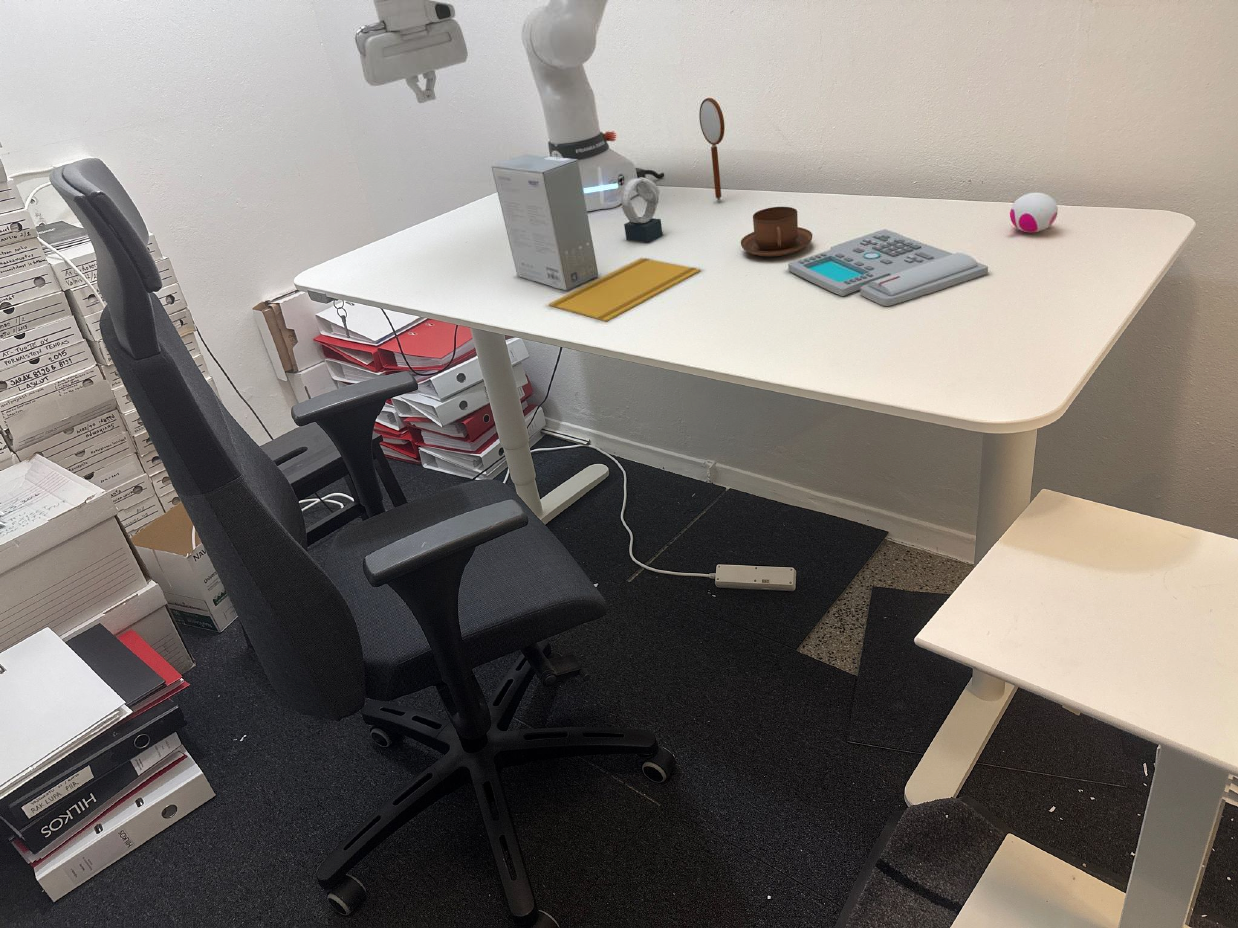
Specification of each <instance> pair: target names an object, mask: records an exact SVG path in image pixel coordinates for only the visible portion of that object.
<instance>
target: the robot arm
mask: <svg viewBox="0 0 1238 928" xmlns="http://www.w3.org/2000/svg"><path fill="white" fill-rule="evenodd" d="M372 1H373V4H374V8H375V11H376V15H377V19H378V22H374V23H371V24H365V25H361V26H360V27H359V29H358V30H357V31H356V33H355V36H354V42H355V45H356V48H357V51H358V53H359V57H360V64H361V69H362V73H363V77H364V80H365V82H366V83H367V84H368V85H370V86H371V87H377V86H378V87H379V86H383V85H388V84H391V83H394V82H399V81H403V80H405V82H406V85H407V86H408V87H409V88H410V89H411V90H412V92H413V93H414V94H415V97H416V100H417V103H418V104H424V103H427V102H431V101H434V100H436V98H437V96H436V93H435V85H436V81H437V75H436V71H438V70H442V69H445V68H449V67H453V66H456V65H460V64H463V63H466V62H467V61H468V60H467V59H468V55H469V52H468V47H467V43H466V40H465V37H464V34H463V31H462V28H461V26H460V24H459V22H458V21H456V19H454V18H455V17H456V10H455V7H454V5H452V4H451V3H447V2H440V1H435V0H372ZM608 1H609V0H549V2H548V4H547V5H541V6H538V7H536V8H534V9H533V10H532V11H531V12H530V13H529V14H527V16H526V17H525V19H524V21H523V23H522V26H521V32H520V33H521V34H520V35H521V40H522V41H521V42H522V44H523V47H524V50H525V52H526V56H527V60H528V63H529V67H530V70H531V73H532V76H533V80H534V83H535V86H536V88H537V92H538V95H539V98H540V101H541V106H542V109H543V110H542V111H543V115H544V120H545V121H544V122H545V126H546V131H547V136H548V142H547V147H548V152H549V157H558V158H569V159H577V160H578V165H579V170H580V176H581V182H582V187H583V193H584V198H585V204H586V209H587V212H592V211H596V210H597V211H598V210H604V209H606V210H607V209H612V208H617V207H618V206H619V205H622V202H621V197H622V191H623V188H624V186H625V185H626V183H627V182H628V181H629V180H631V179H638V178H646V175H651V176H653V177H654V178H655V179H662V178H664V177H665V173H664V172H661V173H657V172H656V171H655V170H652V169H643V168H640V167H636V166H635V164H634V163H633V161H632V160H631V159H629V158H627V157H626V156H624V155H622V154H620V153H619V152H617V151H615V150H614V149H612V148H610V145H609V143H608V142H615V141H616V139H617V133H616V132H615V131H612V130H611V131H610V130H608V131H605V132H603V131H601V129H600V128H601V127H600V122H599V116H598V110H597V104H596V97H595V93H594V90H593V89H592V87H591V84H590V81H589V78H588V76H587V73H586V70H585V67H584V65H585V63H586V62H588V61H589V60H590V59H591V57H592V56H593V54H594V53H595V49H596V46H597V35H598V32H599V30H600V27H601V23H602V20H603V17H604V13H605V9H606V7H607V5H608ZM419 75H422V79H423V80H426V81H425V89H422V88H421V86H419V84H418V83H420V80H419ZM646 179H647V178H646ZM636 196H638V194H637V192H636V191H634V189H633V191H632V194H631V199H632V198H634V197H636Z"/></svg>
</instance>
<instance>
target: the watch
mask: <svg viewBox="0 0 1238 928" xmlns="http://www.w3.org/2000/svg"><path fill="white" fill-rule="evenodd" d="M633 189H634V191H636V192H637V196H639V197H641V198H642V200H643V202H644V203H646V207H645V210H644V213H643V214H642V216H638V214H637V212H636V210H635V208H634V206H633V205H632V202H631V201H632V200H631V199H632V198H631V194H632V191H633ZM659 195H660V189H659V187H658V185H657V184H656V183H655V182H653V180H650V179H649V178H638V179H631V180H629V181H628V182H627V183H626V185H625V186H624V188H623V191H622V197H621V202H622V203H621V209H622V211H623V214H624V215H625V217H626V218H627V220H628V222H625V223H624V224H623V226H624V234H625V239H626V241H628V242H629V241H630V242H635V243H636V242H637V243H645V244H650V243H651V242H653V241H655V240H657V239H659V238H661V237H662V236H663V235H664V233H663V226H662V219H661V218H654V216H655V213H656V212H657V208H658V204H659V201H660V200H659Z"/></svg>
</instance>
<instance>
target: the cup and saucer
mask: <svg viewBox="0 0 1238 928" xmlns="http://www.w3.org/2000/svg"><path fill="white" fill-rule="evenodd" d="M752 224H753V231H752V232H750V233H747V234H746V235H745V236H743V238H741V240H740V247H741V248H742V249H743V250H744V251H745V252H747V253H748V254H751V255H754V256H759V257H780V256H785V255H790V254H793V253H797V252H799V251H801V250H803V249H804V248H807V246H808V245H809V244H810V243H811V242H812V241H813V232H811V230H809V229H807V228H804V227H799V223H798V210H797V209H796V208H793V207H790V206H772V207H767V208H763V209H760V210H758V211H756V212H755V213H753V215H752Z"/></svg>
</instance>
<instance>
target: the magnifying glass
mask: <svg viewBox="0 0 1238 928" xmlns="http://www.w3.org/2000/svg"><path fill="white" fill-rule="evenodd" d="M698 115H699V116H698V117H699V125H700V129H701V132H702V135H703V137H704V139H705V140H706V141H707V143H709V144H710V145H711V147H710V152H711V162H712V163H711V164H712V174H713V184H714V195H715V199H716V202H717V203H720V202H721V198H722V189H721V188H722V187H721V177H720V165H719V153H718V146H717V145H719V144H720V143H721V142H722V141H723V139H724V136H725V118H724V114H723V111H722V108H721V106H720V104H719V103H718V102H717V100H715V99H714V98H712V97H706V98H705V99H704V100H702V102H701V103H700V107H699V114H698Z"/></svg>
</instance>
